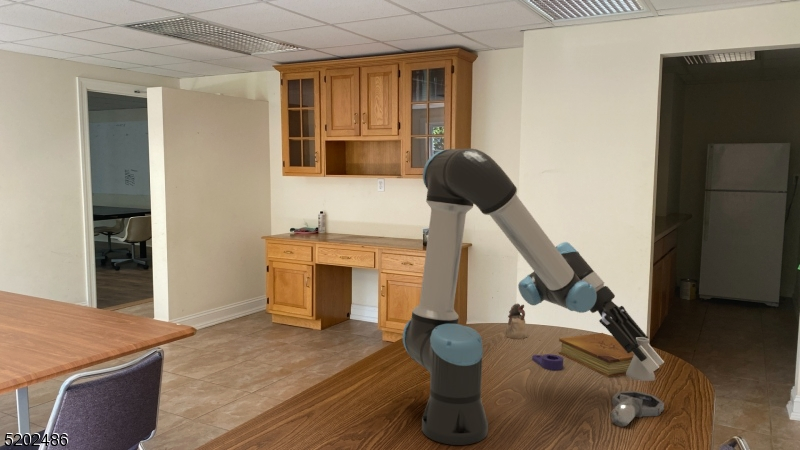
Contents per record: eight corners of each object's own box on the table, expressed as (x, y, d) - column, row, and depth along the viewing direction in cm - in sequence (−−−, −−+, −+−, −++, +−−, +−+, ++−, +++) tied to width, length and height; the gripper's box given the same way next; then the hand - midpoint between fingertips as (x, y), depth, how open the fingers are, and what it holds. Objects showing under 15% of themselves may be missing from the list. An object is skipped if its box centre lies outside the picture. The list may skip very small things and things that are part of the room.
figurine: (514, 332, 212) (515, 300, 211) (530, 336, 207) (531, 304, 206) (502, 335, 208) (503, 303, 207) (517, 340, 202) (519, 306, 201)
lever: (567, 369, 174) (567, 359, 174) (550, 372, 172) (550, 362, 171) (542, 357, 185) (543, 348, 185) (526, 359, 183) (526, 350, 182)
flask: (649, 373, 150) (652, 335, 149) (660, 382, 143) (662, 343, 142) (621, 372, 151) (623, 334, 150) (630, 381, 143) (632, 342, 143)
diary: (656, 371, 175) (658, 353, 174) (608, 379, 168) (609, 360, 167) (603, 348, 196) (604, 332, 195) (558, 354, 189) (559, 337, 188)
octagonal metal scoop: (644, 433, 132) (646, 414, 132) (595, 419, 139) (596, 401, 139) (667, 405, 148) (668, 388, 148) (621, 394, 155) (622, 378, 155)
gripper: (594, 295, 161) (654, 366, 153) (571, 307, 148) (635, 385, 139) (615, 279, 157) (677, 351, 149) (593, 290, 144) (660, 369, 136)
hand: (657, 367), depth 144 cm, fingers closed on flask, 4 cm apart
